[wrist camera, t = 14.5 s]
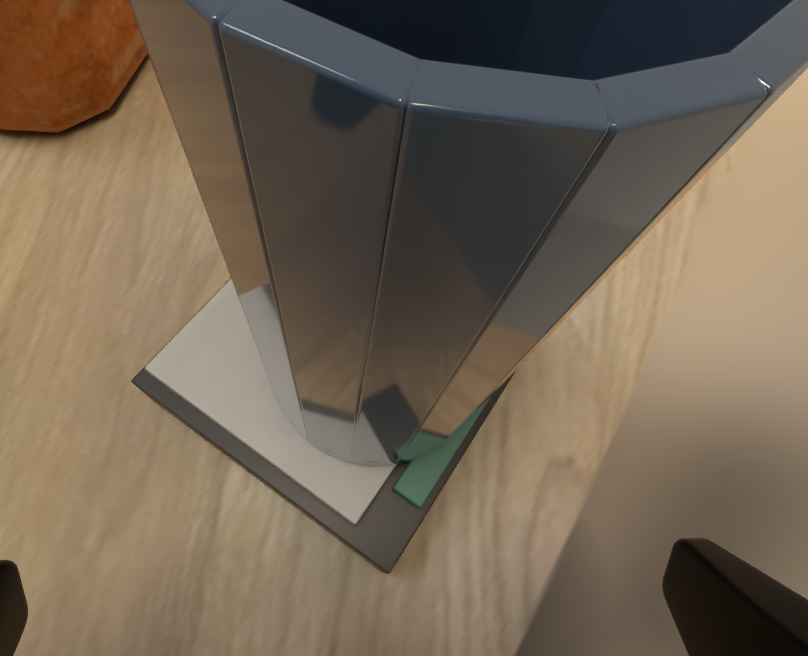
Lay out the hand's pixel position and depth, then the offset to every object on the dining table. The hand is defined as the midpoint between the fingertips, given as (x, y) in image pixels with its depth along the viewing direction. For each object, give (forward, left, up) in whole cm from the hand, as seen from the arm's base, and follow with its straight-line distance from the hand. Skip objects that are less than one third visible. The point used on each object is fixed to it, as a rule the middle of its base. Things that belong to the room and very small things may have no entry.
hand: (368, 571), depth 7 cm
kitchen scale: (+4, -5, -11) cm, 13 cm away
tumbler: (+3, -5, -8) cm, 10 cm away
